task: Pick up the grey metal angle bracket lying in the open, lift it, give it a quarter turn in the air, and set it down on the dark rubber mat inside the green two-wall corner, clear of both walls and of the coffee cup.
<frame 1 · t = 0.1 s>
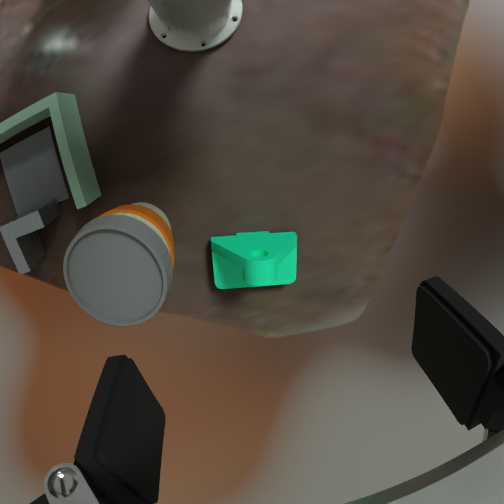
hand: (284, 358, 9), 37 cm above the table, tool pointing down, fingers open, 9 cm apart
camera mount: (253, 255, 49), on the table
reusable coffee cup: (142, 231, 45), on the table
corner walls: (71, 101, 36), on the table
bracket: (32, 234, 43), on the table, touching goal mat
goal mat: (32, 174, 39), on the table
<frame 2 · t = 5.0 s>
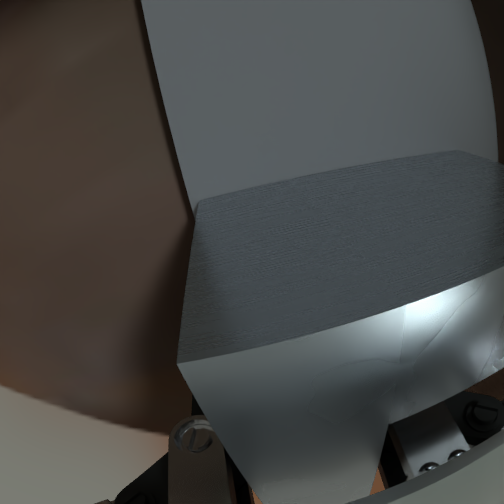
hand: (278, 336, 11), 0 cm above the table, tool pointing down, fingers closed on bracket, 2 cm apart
bracket: (271, 308, 10), on the table, touching gripper
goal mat: (341, 4, 7), on the table
when the fingers open (2 cm above the table, at t = 12.1 s): bracket stays where it is, resting on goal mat.
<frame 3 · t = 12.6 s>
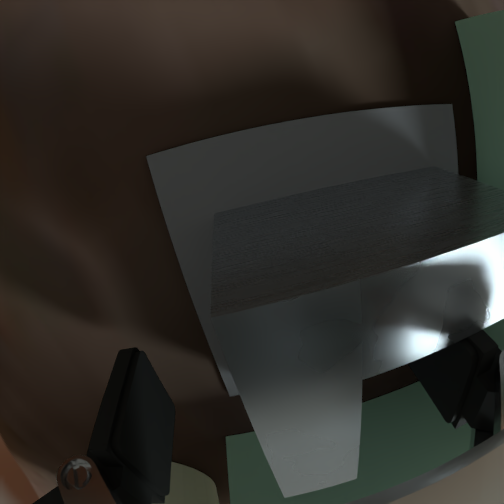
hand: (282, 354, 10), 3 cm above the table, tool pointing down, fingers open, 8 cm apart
reusable coffee cup: (156, 482, 18), on the table
corner walls: (460, 368, 16), on the table
bracket: (273, 304, 12), resting on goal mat
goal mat: (339, 261, 12), on the table
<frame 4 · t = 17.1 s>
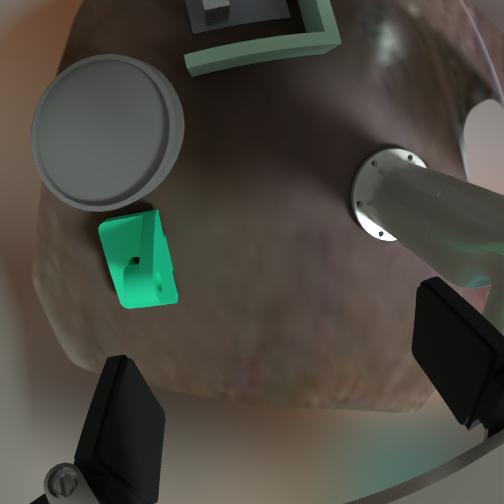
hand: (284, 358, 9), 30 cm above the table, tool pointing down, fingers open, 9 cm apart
camera mount: (141, 255, 40), on the table
reusable coffee cup: (142, 127, 34), on the table
corner walls: (316, 48, 32), on the table
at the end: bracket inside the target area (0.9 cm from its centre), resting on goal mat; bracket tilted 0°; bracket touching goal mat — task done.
